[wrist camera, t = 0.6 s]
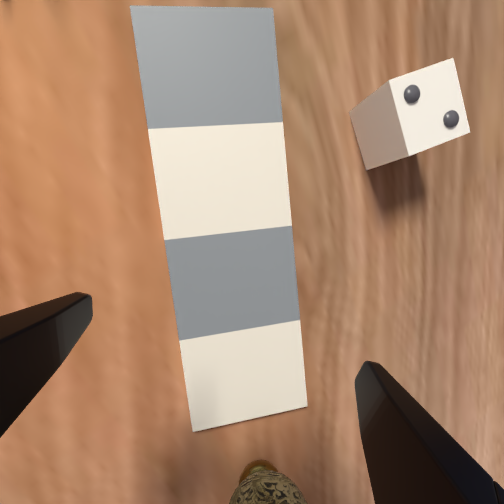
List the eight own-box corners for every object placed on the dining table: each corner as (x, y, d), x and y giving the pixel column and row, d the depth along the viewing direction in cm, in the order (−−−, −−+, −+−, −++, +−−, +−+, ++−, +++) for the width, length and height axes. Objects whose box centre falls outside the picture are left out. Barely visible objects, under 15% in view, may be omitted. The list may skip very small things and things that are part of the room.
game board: (305, 401, 24) (307, 406, 23) (193, 426, 22) (192, 432, 22) (270, 14, 20) (272, 8, 19) (132, 12, 19) (129, 5, 18)
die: (415, 151, 23) (472, 131, 18) (365, 170, 23) (410, 155, 18) (399, 93, 23) (455, 56, 18) (348, 112, 22) (390, 79, 17)
